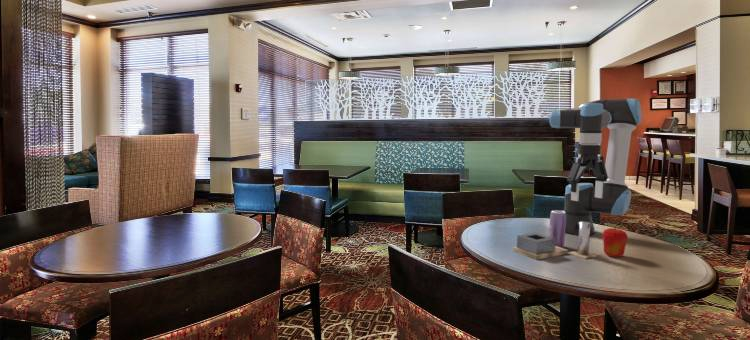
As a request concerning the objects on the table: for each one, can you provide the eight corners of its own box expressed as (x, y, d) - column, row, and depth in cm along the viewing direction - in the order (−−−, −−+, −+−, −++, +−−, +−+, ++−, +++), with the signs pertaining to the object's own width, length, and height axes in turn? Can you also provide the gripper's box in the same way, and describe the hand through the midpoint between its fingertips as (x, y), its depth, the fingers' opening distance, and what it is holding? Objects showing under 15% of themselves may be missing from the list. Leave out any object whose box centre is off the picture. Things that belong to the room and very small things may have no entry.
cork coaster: (581, 251, 167) (581, 249, 166) (597, 256, 160) (597, 254, 160) (569, 253, 164) (569, 252, 163) (585, 258, 157) (585, 257, 157)
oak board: (543, 245, 174) (543, 242, 174) (567, 253, 164) (567, 249, 164) (513, 250, 167) (513, 247, 167) (536, 259, 156) (536, 255, 156)
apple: (630, 259, 157) (633, 229, 156) (608, 259, 157) (610, 228, 156) (618, 252, 165) (620, 223, 164) (597, 252, 166) (598, 223, 164)
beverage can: (565, 249, 170) (567, 213, 168) (550, 248, 171) (552, 212, 169) (562, 245, 175) (564, 210, 174) (547, 244, 177) (549, 209, 175)
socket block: (535, 244, 171) (535, 232, 170) (554, 251, 162) (555, 238, 161) (516, 247, 167) (517, 235, 166) (536, 254, 158) (536, 241, 157)
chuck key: (592, 254, 160) (594, 223, 159) (586, 256, 159) (588, 224, 157) (580, 250, 165) (581, 220, 164) (573, 252, 164) (575, 221, 162)
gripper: (602, 143, 166) (599, 194, 168) (558, 144, 155) (555, 200, 157) (620, 143, 159) (616, 198, 161) (575, 145, 148) (572, 203, 151)
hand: (586, 199), depth 159 cm, fingers open, 13 cm apart
